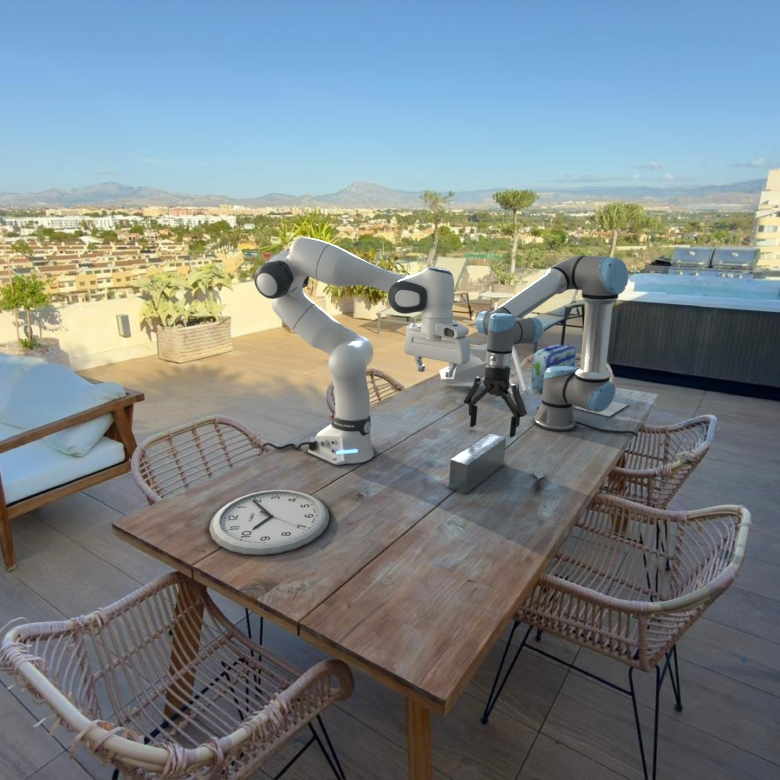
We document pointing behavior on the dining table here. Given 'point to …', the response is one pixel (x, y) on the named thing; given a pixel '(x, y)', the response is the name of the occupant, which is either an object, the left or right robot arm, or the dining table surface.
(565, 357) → the lunch box
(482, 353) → the white plastic object
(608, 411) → the invitation card
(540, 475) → the fork
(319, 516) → the wall clock
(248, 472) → the dining table surface
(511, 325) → the right robot arm
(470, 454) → the bar
